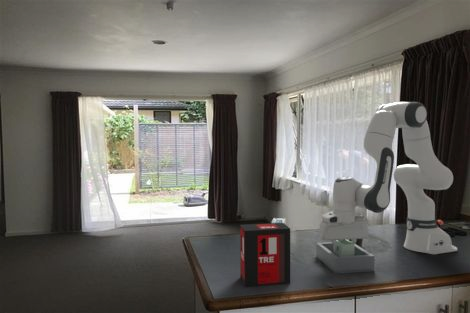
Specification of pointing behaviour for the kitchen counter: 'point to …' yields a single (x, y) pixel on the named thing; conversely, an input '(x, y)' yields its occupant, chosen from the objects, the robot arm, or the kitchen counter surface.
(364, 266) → the large crate
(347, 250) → the small crate
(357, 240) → the coffee cup
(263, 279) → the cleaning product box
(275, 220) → the light bulb box
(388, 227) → the kitchen counter surface
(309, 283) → the kitchen counter surface
